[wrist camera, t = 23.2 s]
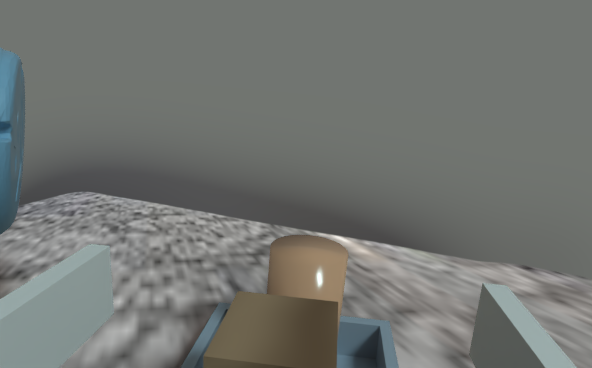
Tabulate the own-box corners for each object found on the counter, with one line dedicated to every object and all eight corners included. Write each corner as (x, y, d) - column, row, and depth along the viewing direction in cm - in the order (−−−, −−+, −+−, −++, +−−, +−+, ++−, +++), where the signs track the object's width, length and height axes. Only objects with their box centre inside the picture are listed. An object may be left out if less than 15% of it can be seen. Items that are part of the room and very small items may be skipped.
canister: (265, 413, 24) (277, 266, 22) (256, 360, 29) (265, 234, 27) (341, 406, 25) (359, 265, 23) (320, 356, 30) (334, 235, 28)
